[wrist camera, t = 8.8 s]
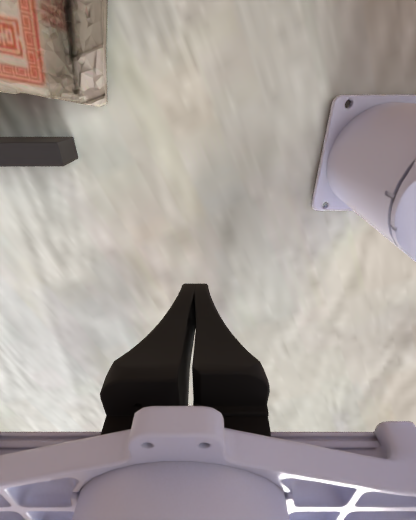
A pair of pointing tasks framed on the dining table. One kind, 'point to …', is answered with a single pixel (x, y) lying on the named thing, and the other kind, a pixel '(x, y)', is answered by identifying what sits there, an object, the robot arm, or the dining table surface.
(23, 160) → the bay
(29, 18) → the packaged product
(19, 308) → the dining table surface
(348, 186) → the robot arm
